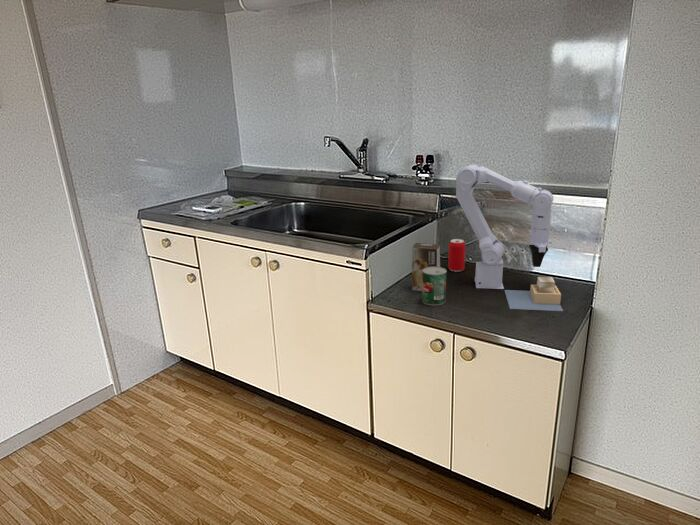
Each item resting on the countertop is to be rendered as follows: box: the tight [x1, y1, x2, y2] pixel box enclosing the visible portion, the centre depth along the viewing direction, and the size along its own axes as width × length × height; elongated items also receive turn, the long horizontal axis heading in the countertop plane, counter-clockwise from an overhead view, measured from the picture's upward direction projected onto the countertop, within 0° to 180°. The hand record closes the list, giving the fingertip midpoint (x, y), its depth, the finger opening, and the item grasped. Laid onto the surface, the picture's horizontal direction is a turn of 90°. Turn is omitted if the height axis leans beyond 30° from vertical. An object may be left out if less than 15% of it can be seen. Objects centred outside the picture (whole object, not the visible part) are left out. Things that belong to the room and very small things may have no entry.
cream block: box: [536, 276, 556, 294], centre depth 160 cm, size 4×4×4 cm
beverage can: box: [447, 238, 466, 273], centre depth 191 cm, size 6×6×12 cm
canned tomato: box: [421, 266, 448, 307], centre depth 163 cm, size 8×8×11 cm
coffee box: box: [411, 242, 441, 292], centre depth 173 cm, size 9×6×16 cm
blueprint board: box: [504, 284, 564, 312], centre depth 161 cm, size 16×16×4 cm
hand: (536, 266), depth 166 cm, fingers closed
